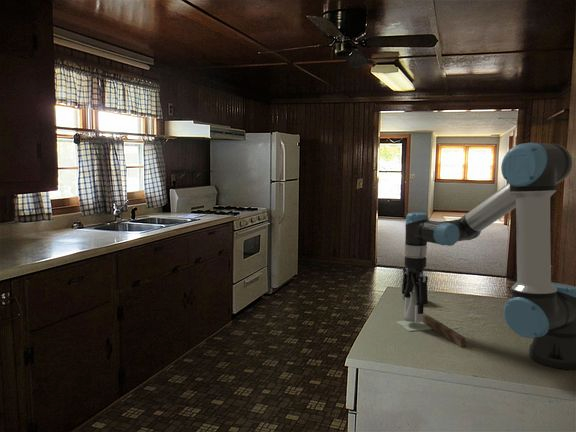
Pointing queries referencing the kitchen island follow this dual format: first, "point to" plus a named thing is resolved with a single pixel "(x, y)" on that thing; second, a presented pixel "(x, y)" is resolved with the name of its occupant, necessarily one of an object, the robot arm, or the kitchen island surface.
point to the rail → (444, 330)
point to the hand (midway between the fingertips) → (413, 318)
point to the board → (413, 325)
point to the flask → (411, 308)
